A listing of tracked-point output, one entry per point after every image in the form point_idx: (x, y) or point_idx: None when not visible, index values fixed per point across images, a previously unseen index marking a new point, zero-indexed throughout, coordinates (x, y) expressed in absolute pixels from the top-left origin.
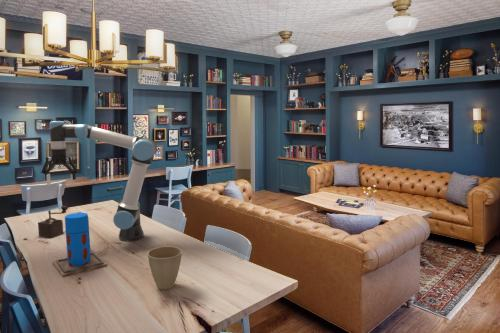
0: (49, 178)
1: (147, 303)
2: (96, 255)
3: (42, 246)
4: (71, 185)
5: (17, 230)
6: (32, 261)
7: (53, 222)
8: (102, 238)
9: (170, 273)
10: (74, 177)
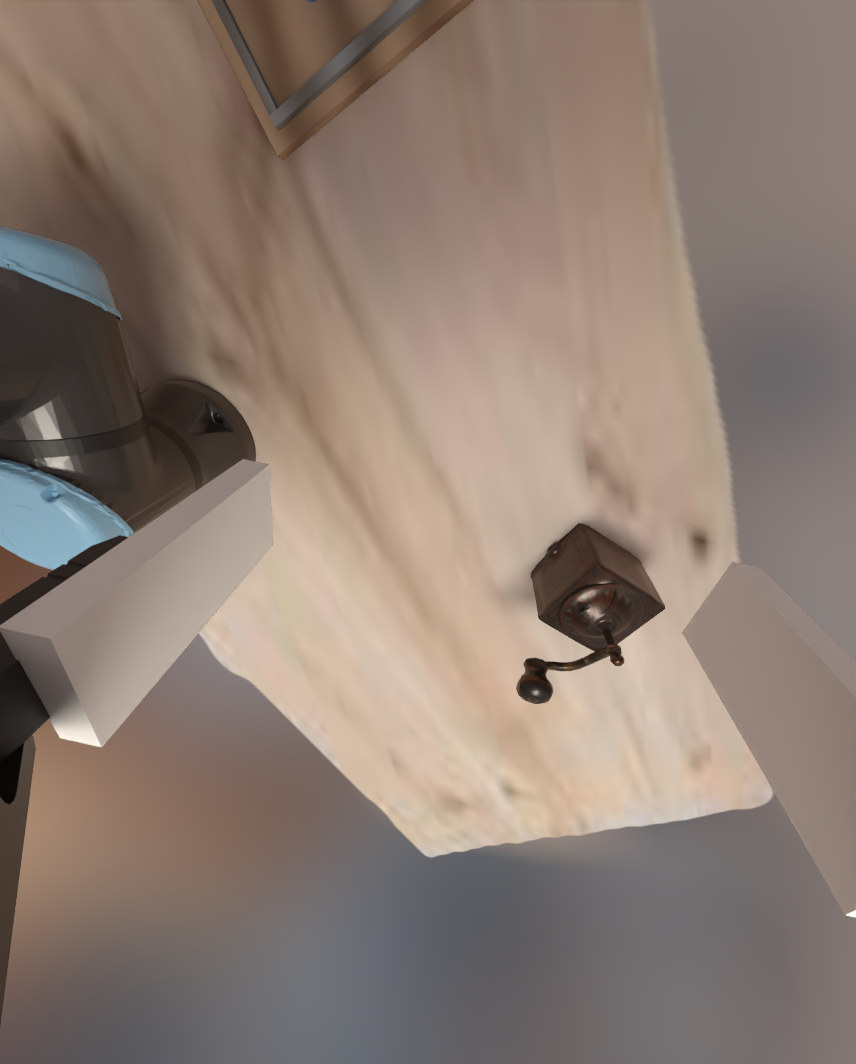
0: (788, 734)
1: None
2: (226, 28)
3: (609, 401)
4: (265, 464)
5: None
6: (644, 83)
7: (580, 587)
8: (333, 460)
9: None
10: (68, 570)
